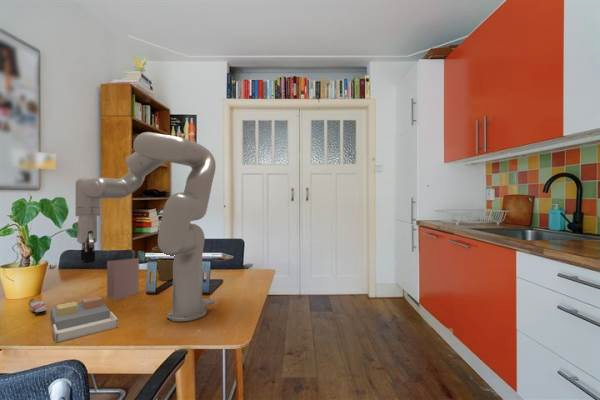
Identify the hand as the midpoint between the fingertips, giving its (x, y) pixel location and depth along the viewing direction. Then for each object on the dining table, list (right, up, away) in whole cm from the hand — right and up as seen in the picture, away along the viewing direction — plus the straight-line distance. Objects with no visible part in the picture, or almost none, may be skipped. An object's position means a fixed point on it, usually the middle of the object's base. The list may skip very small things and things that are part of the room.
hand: (87, 260), depth 109 cm
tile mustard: (+2, -14, -12) cm, 19 cm away
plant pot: (+11, -18, +42) cm, 47 cm away
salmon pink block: (+6, -15, -6) cm, 17 cm away
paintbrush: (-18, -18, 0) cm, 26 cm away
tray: (+13, -17, -18) cm, 28 cm away
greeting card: (+6, -18, +13) cm, 23 cm away
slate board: (+4, -18, -9) cm, 20 cm away
